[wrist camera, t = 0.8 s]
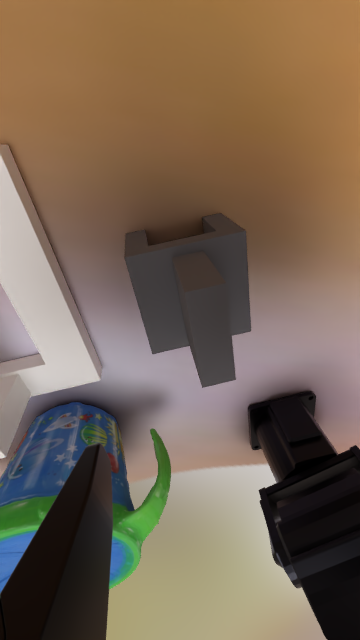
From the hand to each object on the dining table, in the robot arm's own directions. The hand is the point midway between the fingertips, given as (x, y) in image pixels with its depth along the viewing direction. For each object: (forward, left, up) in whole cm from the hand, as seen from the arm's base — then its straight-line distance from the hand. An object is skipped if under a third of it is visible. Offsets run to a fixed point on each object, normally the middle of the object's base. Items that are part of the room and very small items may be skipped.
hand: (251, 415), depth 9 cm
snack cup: (-13, +12, -13) cm, 21 cm away
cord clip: (0, 0, -13) cm, 13 cm away
